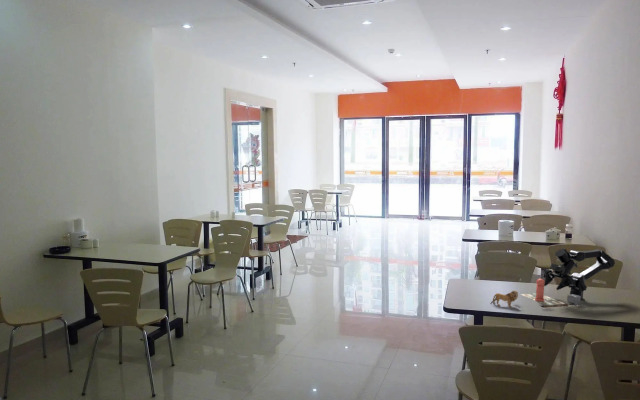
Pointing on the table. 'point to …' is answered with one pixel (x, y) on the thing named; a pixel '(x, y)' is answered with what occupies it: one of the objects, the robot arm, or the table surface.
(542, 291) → the pawn
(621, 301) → the table surface
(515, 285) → the table surface
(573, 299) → the die
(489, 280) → the table surface
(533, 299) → the board
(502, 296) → the lion figurine
